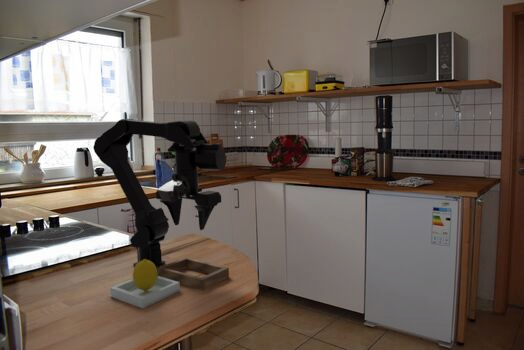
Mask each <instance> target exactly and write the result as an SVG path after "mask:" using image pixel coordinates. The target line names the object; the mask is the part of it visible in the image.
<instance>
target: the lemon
mask: <svg viewBox="0 0 524 350" xmlns="http://www.w3.org/2000/svg"><path fill="white" fill-rule="evenodd" d="M137 262H138V261H137ZM157 276H158V268H157V267H156V266H155V265H154V263H153V262H151V261H149V260H147V259H143V260H142V261H140V262H138V263H137V264H136V266H134V267H133V272H132V279H133V281H134V284H135V286H136V287H137V288H139V289H141V290H143V291H144V292H146V291H147V290H148V289H151V288H152V287H153V286H154V285H155V283H156V281H157Z"/></svg>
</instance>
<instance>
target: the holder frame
mask: <svg viewBox="0 0 524 350" xmlns="http://www.w3.org/2000/svg"><path fill="white" fill-rule="evenodd" d="M184 269H190V270H194V271H197V272H202V273H203V274H204V273H205V274H206V275H204V276H203V277H199V276H196V275H193V274H189V273H186V272H181V271H183V270H184ZM229 269H230V268H229V267H227V266H223V265H219V264H216V263H212V262H206V261H202V260H198V259H195V258H191V257H186V256H185V257H182V258H179V259H177V260H175V261H172V262H169V263H167V264H165V265H164V264H163V265H160V266H158V267H157V276H160V277H163V278H167V279H170V280H174V281H177V282H180V284H181V285H183V286H188V287H191V288H194V289H198V290H201V291H204V290H205V289H208V288H210V287H212V286H214V285H216V284H218V283H220V282H222V281H224V280H226V279H228V278H229V277H230V271H229Z"/></svg>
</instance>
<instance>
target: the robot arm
mask: <svg viewBox="0 0 524 350" xmlns="http://www.w3.org/2000/svg"><path fill="white" fill-rule="evenodd" d="M134 135H138V136H146V137H147V136H149V137H155V138H157V137H158V138H162V139H165V140H166V141H169V142H170V143H171V142H172V145H171V146H170V147H169V148H167V152H169V153H174V154H175V155H174V159H175V161H174V162H175V172H174V173H172V175H171V180H170V181H168V182H166V183H164V184H163V185H161V186H160V187H159V188H157V190H156V191H155V196H156V197H155V198H156V199H157V200H159V202H160V203H162V204H163V205H165V206H166V208H167V209H168V211H169V215H170V216H171V219H172V222H173V223H174V224H173V225H175V226H178V225H179V224H180V220H181V219H180V218H181V213H182V212H181V211H182V203H183V199H185V200H190V201H191V200H192V201H194V202H195V204H196V205H194V208H195V209H196V210H197V212H198V216H197V217H198V226H199V230H200V231H203V230H204V229H205V227H206V225H207V223H208V220H209V218H210V215H211V213H212V212H213V210H214V209H215V206H218V205H219V204H221V203H222V194H221V193H220V192H219V191H215V190H206V191H203V187H200V186H199V177H202V172H201V171H200V172H199V170H202V171H217V172H218V171H223V170H224V169H225V168H226V165H227V155H226V153H225V152H226V151H225V149H224V148H223V144H222V143H209V142H208V140H207V139H206V138H205V136H204V134H203V133H202V132H201V129H200V126H199V124H198V122H196V121H194V120H179V121H178V120H177V121H176V120H175V121H169V122H159V121H149V120H137V119H134V118H122V119H119V120H117V122H116V123H115V124H114V125H113V126H112V127H110V128H109V129H108V130H106V131H104V132H103V133H102V134H101V135H100V136H99V137H97V138H95V140H94V143H93V144H94V145H93V151H94V153H95V155H96V156H97V158H98V160H100V161H101V163H103V164H104V165H105V166H107V167H108V168H110V169H111V171H112V172H113V174H114V176H115V178H116V180H117V182H118V184H119V186H120V188H121V190H122V191H123V193H124V196H125V198H126V199H127V201H128V204H129V205H130V207H131V208H132V210H133V212H134V215H135V217H134V225H135V229H136V232H135V233H134V234H133V236H131V237H130V239H129V242H130V245H131V247H132V248H136V254H137V256H136V257H137V261H136V262H134V263H133V265H132V266H134V267H135V266H136V264H137V263H138V262H140V261H142V260H143V259H147V260H149V261H151V262H153V263H154V265H155V266H156V268H158V267H160V266H163V265H164V264H165V265H166V261H165V260H162V248H161V243H160V242H161V241H165V238H166V235H167V233H168V231H169V228H170V226H169V225H170V224H169V222H168V221H169V218H168V217H167V216H166V214H165V212H164V209H163V208H162V207H158V208H156V207H154V206H153V205H152V203H151V202H150V200H149V198H148V197H147V194H146V192H145V191H144V188H143V187H142V185H141V183H140V181H139V178H138V177H137V175H136V174H135V172H134V170H133V168H132V167H131V163H129V150H128V148H127V147H128V145H129V144H130V143H131V141H132V139H133V136H134Z"/></svg>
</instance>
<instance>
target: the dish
mask: <svg viewBox="0 0 524 350" xmlns="http://www.w3.org/2000/svg"><path fill="white" fill-rule="evenodd" d="M180 286H181V285H180V282H177V281H174V280H170V279H167V278H163V277H160V276H158V275H157V281H156V283H155V285H154V286H153V287H152V288H151V289H148V290H147V291H146V292H144V291H143V290H141V289H139V288H137V287H136V286H135V284H134V281H133V278H132V279H129V280H126V281H124V282H121V283H118V284H116V285H113V286H110V289H109V290H110V297H111V298H114V299H116V300H119V301H121V302H124V303H128V304H130V305H132V306H136V307H138V308H141V309H145V308H147V307H149V306H151V305H153V304H155V303H157V302H160V301H162V300H164V299H166V298H168V297H171V296H172V295H174V294H177V293H180V292H181V287H180Z"/></svg>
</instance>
